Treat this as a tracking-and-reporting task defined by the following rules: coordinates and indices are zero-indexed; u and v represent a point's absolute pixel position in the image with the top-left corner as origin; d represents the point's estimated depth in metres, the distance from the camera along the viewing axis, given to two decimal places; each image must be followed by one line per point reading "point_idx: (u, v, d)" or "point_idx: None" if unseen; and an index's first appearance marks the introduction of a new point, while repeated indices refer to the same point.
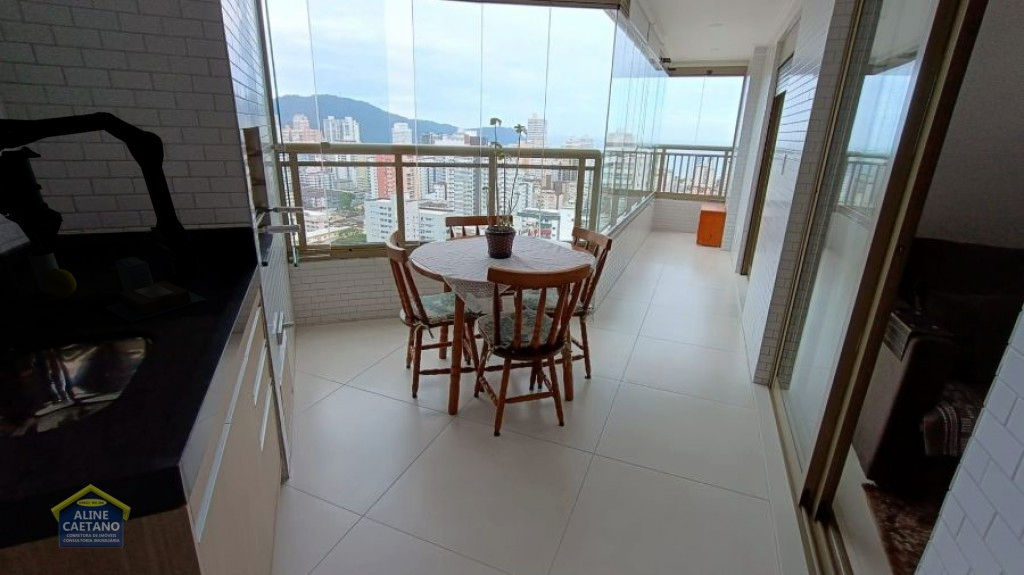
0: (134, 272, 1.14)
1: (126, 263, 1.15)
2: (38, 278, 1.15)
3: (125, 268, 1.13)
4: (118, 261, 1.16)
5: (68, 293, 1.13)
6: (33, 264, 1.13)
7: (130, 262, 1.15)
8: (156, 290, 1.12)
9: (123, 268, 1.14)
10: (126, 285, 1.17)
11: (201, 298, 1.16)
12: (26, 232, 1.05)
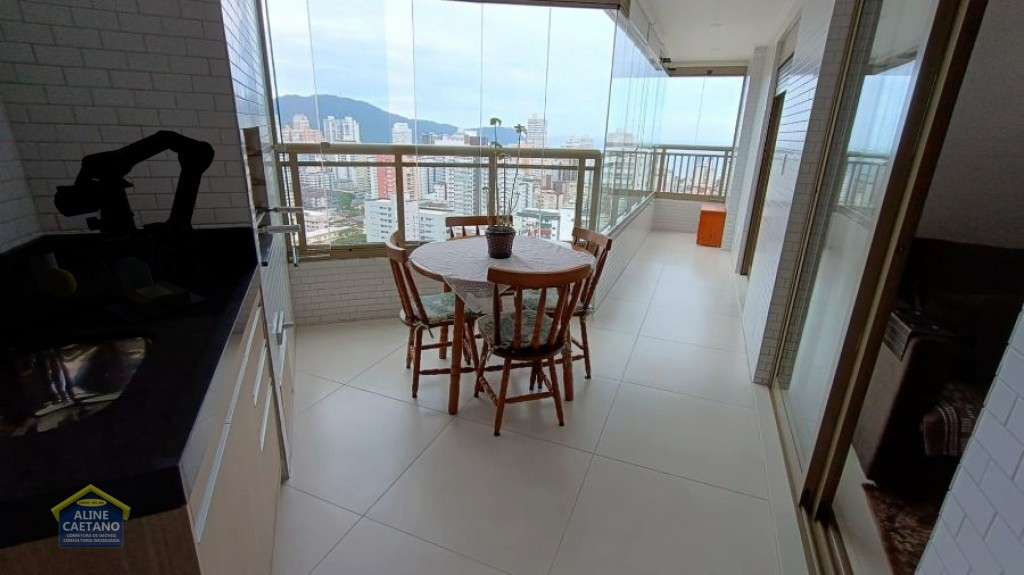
0: (134, 272, 1.14)
1: (126, 263, 1.15)
2: (38, 278, 1.15)
3: (125, 268, 1.13)
4: (118, 261, 1.16)
5: (68, 293, 1.13)
6: (33, 264, 1.13)
7: (130, 262, 1.15)
8: (156, 290, 1.12)
9: (123, 268, 1.14)
10: (126, 285, 1.17)
11: (201, 298, 1.16)
12: (149, 250, 1.20)
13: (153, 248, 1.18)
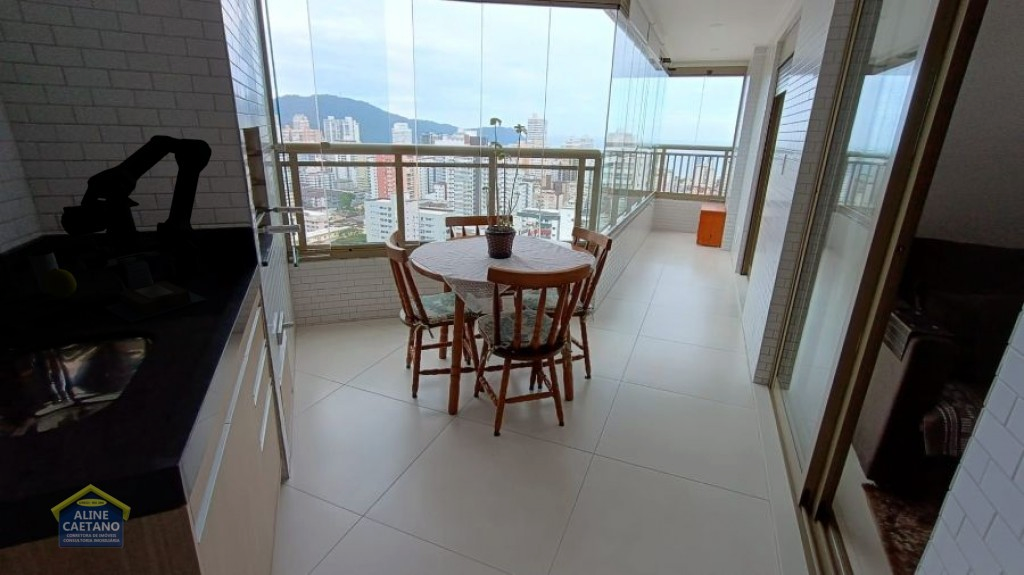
0: (134, 272, 1.14)
1: (126, 263, 1.15)
2: (38, 278, 1.15)
3: (125, 268, 1.13)
4: (118, 261, 1.16)
5: (68, 293, 1.13)
6: (33, 264, 1.13)
7: (130, 262, 1.15)
8: (156, 290, 1.12)
9: (123, 267, 1.14)
10: None
11: (201, 298, 1.16)
12: None
13: None
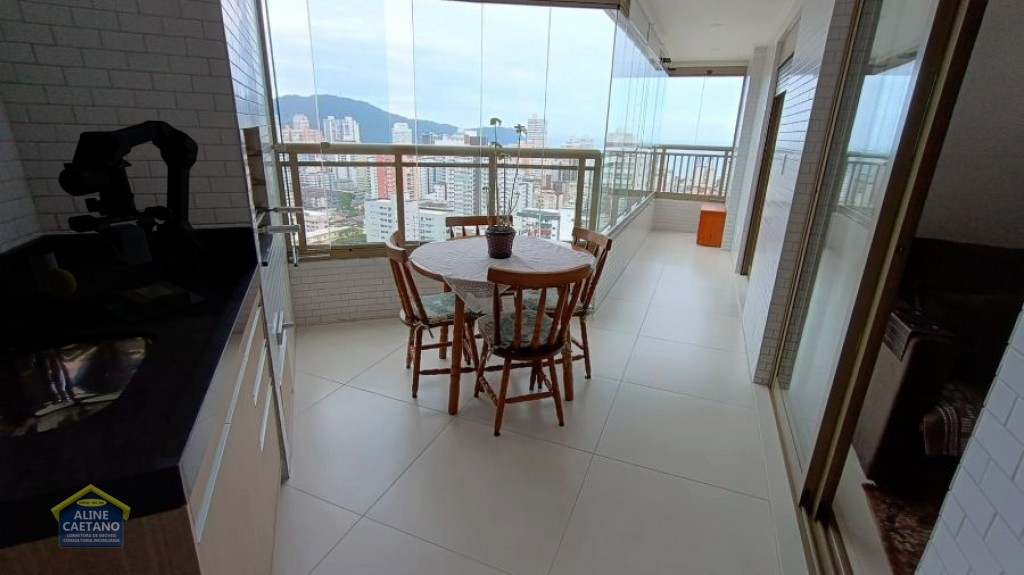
0: (128, 237, 1.07)
1: (121, 228, 1.08)
2: (38, 278, 1.15)
3: (119, 233, 1.06)
4: (112, 226, 1.09)
5: (68, 293, 1.13)
6: (33, 264, 1.13)
7: (125, 227, 1.08)
8: (156, 290, 1.12)
9: (117, 232, 1.07)
10: None
11: (201, 298, 1.16)
12: None
13: None
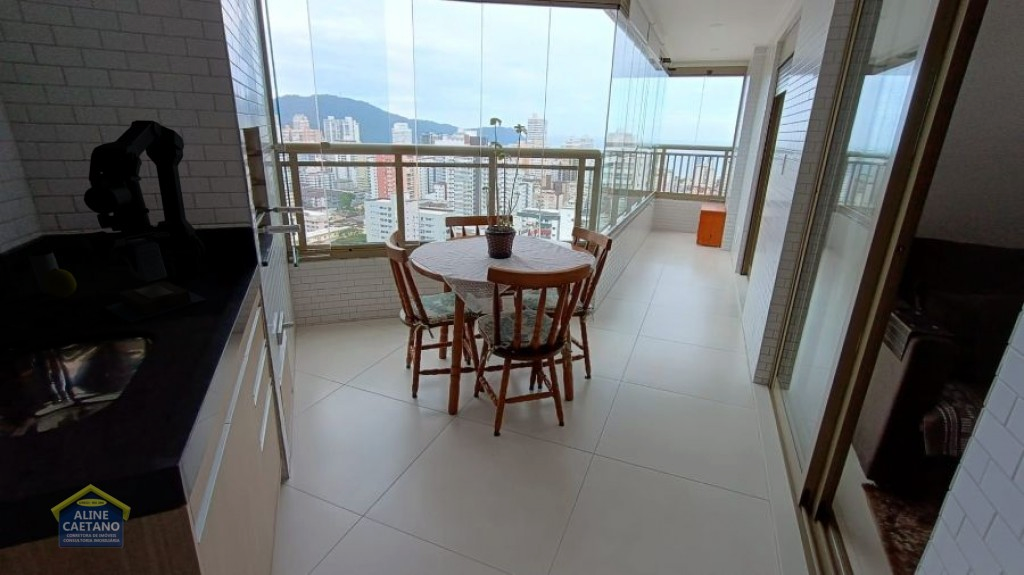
0: (144, 253, 1.05)
1: (135, 243, 1.06)
2: (38, 278, 1.15)
3: (134, 249, 1.04)
4: (126, 242, 1.07)
5: (68, 293, 1.13)
6: (33, 264, 1.13)
7: (139, 243, 1.06)
8: (156, 290, 1.12)
9: (132, 249, 1.05)
10: None
11: (201, 298, 1.16)
12: None
13: None
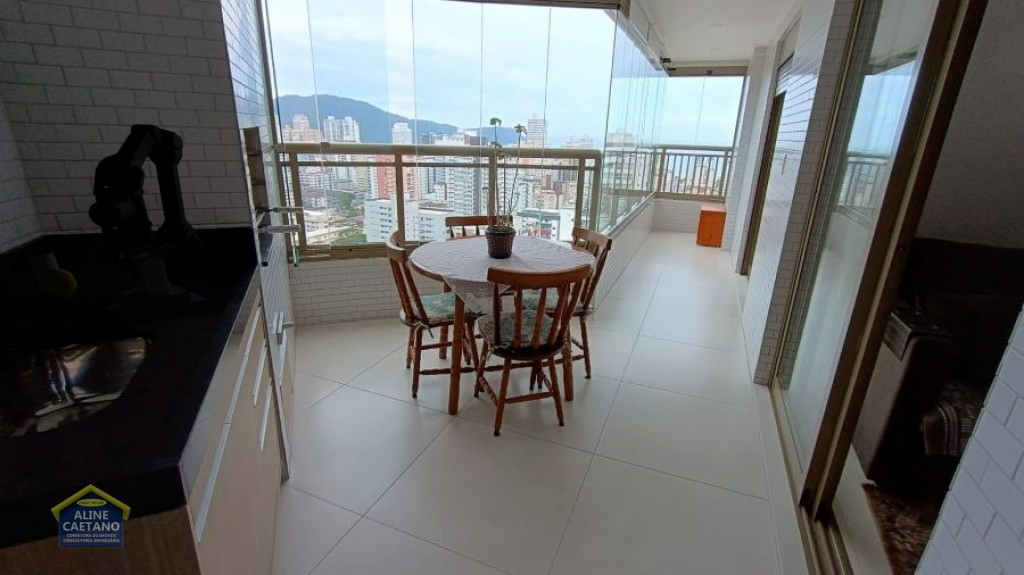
0: (148, 269, 1.06)
1: (139, 259, 1.07)
2: (38, 278, 1.15)
3: (138, 265, 1.06)
4: (130, 257, 1.08)
5: (68, 293, 1.13)
6: (33, 264, 1.13)
7: (143, 259, 1.07)
8: None
9: (137, 264, 1.06)
10: (139, 283, 1.09)
11: (201, 298, 1.16)
12: None
13: (164, 260, 1.10)
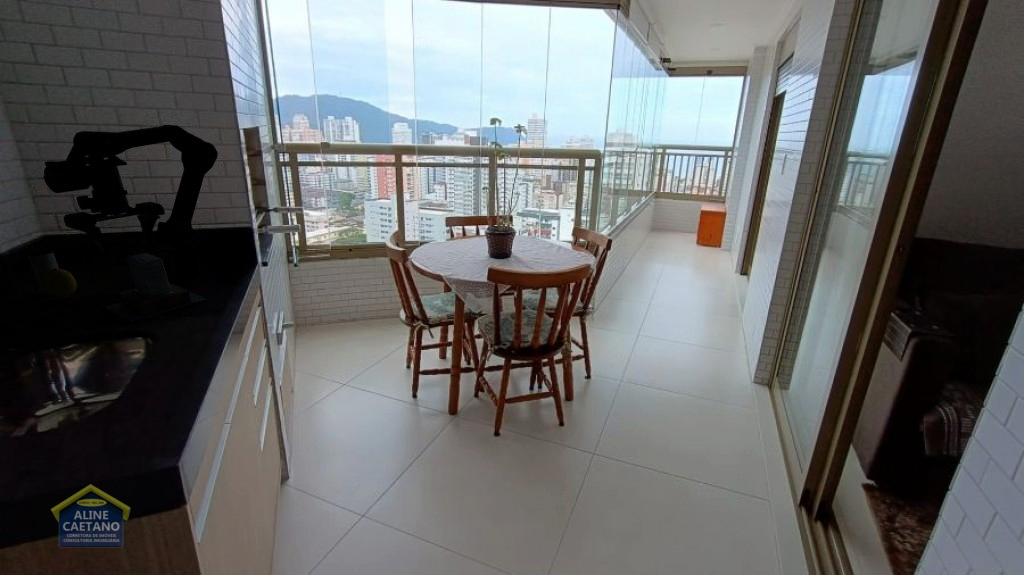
0: (148, 269, 1.06)
1: (139, 259, 1.07)
2: (38, 278, 1.15)
3: (138, 265, 1.06)
4: (130, 257, 1.08)
5: (68, 293, 1.13)
6: (33, 264, 1.13)
7: (143, 259, 1.07)
8: None
9: (137, 264, 1.06)
10: (139, 283, 1.09)
11: (201, 298, 1.16)
12: (142, 230, 1.19)
13: (147, 227, 1.17)
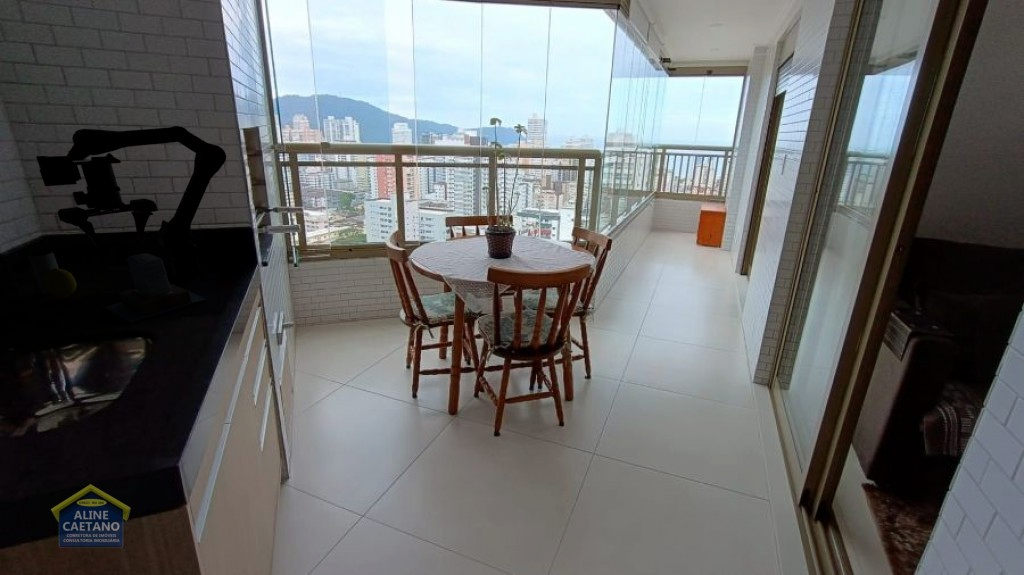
0: (148, 269, 1.06)
1: (139, 259, 1.07)
2: (38, 278, 1.15)
3: (138, 265, 1.06)
4: (130, 257, 1.08)
5: (68, 293, 1.13)
6: (33, 264, 1.13)
7: (143, 259, 1.07)
8: None
9: (137, 264, 1.06)
10: (139, 283, 1.09)
11: (201, 298, 1.16)
12: None
13: (139, 223, 1.20)
